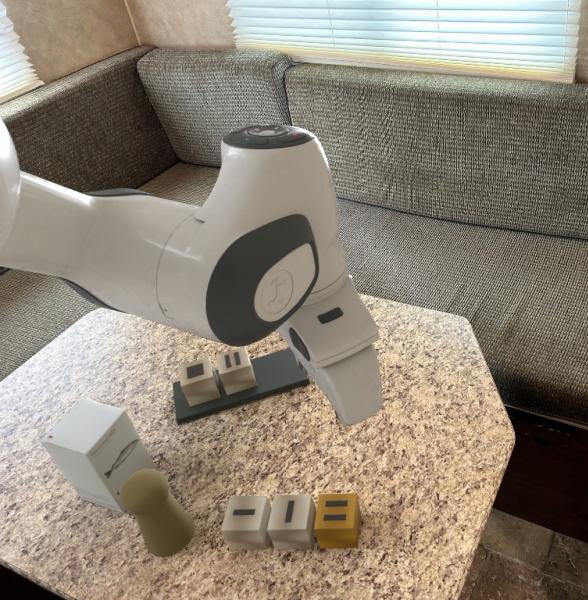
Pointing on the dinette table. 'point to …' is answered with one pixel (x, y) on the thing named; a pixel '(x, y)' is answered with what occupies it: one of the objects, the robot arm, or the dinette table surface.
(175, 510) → the olive game pawn
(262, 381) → the slate board
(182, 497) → the dinette table surface
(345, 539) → the yellow striped cube
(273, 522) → the white block
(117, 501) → the white packaging box
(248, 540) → the off-white cube
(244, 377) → the tile
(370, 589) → the dinette table surface
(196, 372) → the tile
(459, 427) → the dinette table surface
